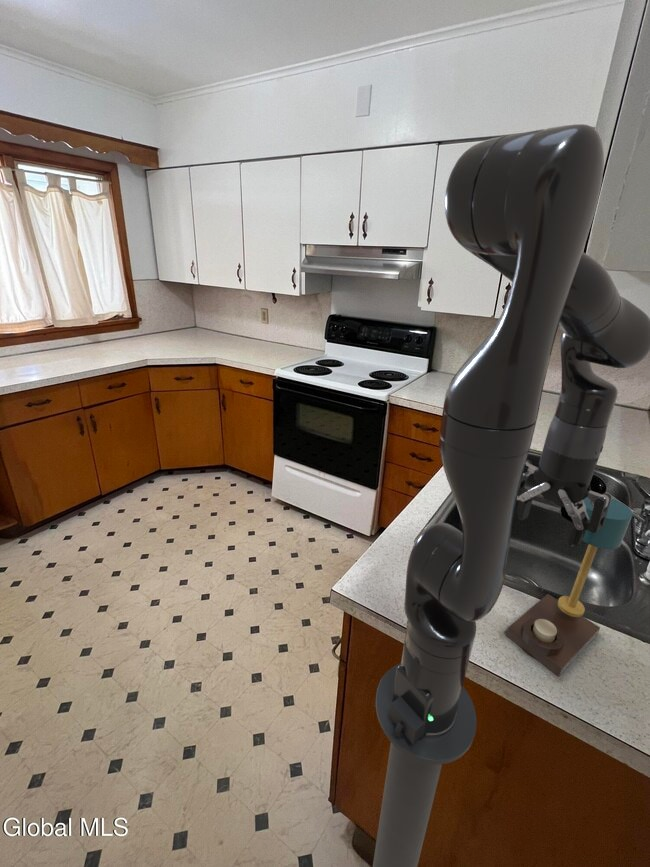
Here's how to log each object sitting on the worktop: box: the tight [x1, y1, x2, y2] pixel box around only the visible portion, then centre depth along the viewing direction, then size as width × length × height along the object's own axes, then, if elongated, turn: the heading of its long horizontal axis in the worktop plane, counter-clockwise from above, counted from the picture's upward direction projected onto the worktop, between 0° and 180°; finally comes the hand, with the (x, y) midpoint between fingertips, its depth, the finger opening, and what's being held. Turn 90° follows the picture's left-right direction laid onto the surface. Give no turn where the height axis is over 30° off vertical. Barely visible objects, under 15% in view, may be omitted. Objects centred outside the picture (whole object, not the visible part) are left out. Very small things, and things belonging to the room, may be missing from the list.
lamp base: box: [505, 593, 601, 677], centre depth 78 cm, size 15×10×4 cm
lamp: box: [557, 497, 634, 617], centre depth 75 cm, size 7×7×23 cm
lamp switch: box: [532, 619, 557, 643], centre depth 75 cm, size 4×4×2 cm
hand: (546, 530), depth 72 cm, fingers open, 8 cm apart
